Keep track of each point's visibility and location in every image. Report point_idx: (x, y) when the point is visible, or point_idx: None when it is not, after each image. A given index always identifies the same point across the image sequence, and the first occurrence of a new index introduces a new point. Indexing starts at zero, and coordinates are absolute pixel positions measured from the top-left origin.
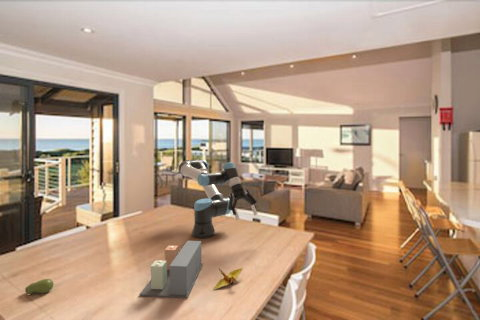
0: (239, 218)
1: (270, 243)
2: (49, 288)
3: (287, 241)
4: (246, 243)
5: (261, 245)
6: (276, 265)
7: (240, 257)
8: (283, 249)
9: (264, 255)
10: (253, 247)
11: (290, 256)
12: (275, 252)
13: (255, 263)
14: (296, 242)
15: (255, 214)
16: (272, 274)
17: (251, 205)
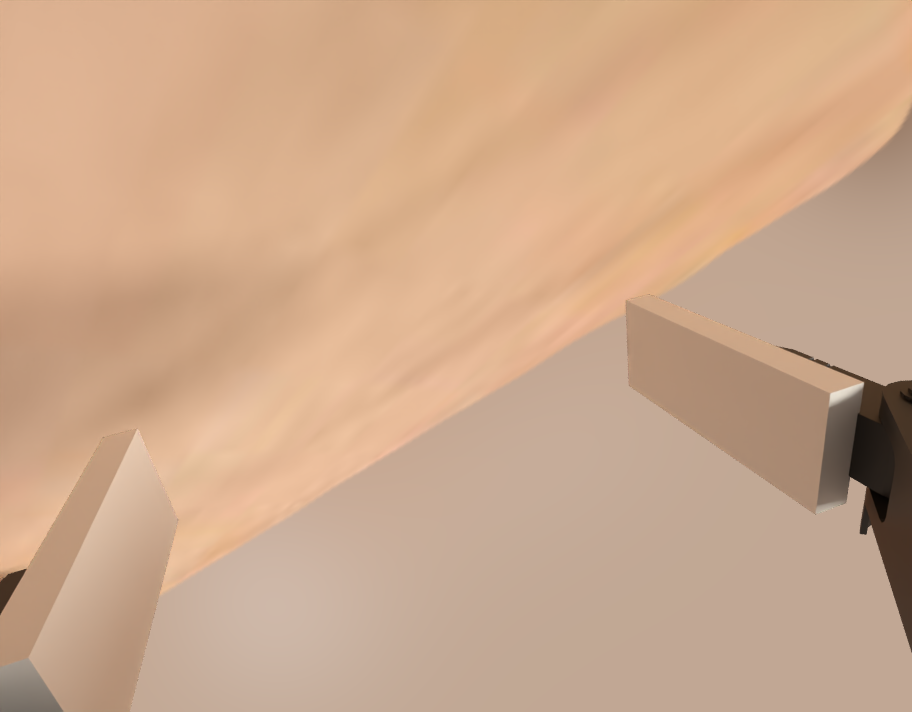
0: (174, 527)
1: (511, 204)
2: None
3: (645, 215)
4: (275, 102)
5: (408, 217)
6: (312, 465)
7: (78, 378)
8: (501, 322)
9: (314, 373)
10: (304, 233)
11: (457, 398)
12: (419, 348)
13: (188, 450)
14: (667, 251)
15: (631, 353)
16: (238, 521)
17: (820, 432)
